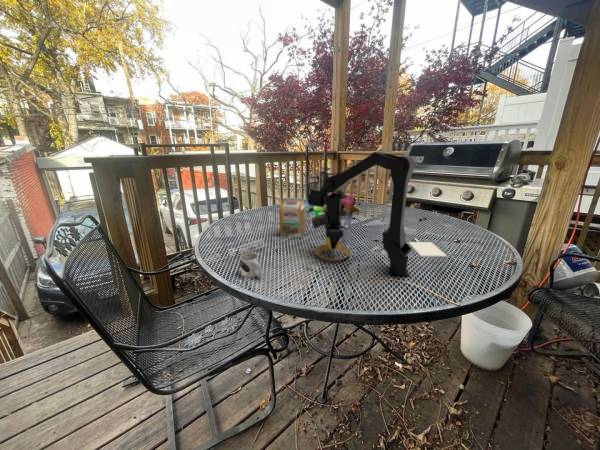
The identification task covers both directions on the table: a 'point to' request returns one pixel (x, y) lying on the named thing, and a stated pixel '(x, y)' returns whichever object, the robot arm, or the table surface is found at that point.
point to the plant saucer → (324, 247)
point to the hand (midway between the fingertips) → (332, 246)
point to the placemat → (427, 249)
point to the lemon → (330, 244)
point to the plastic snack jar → (292, 217)
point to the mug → (250, 265)
